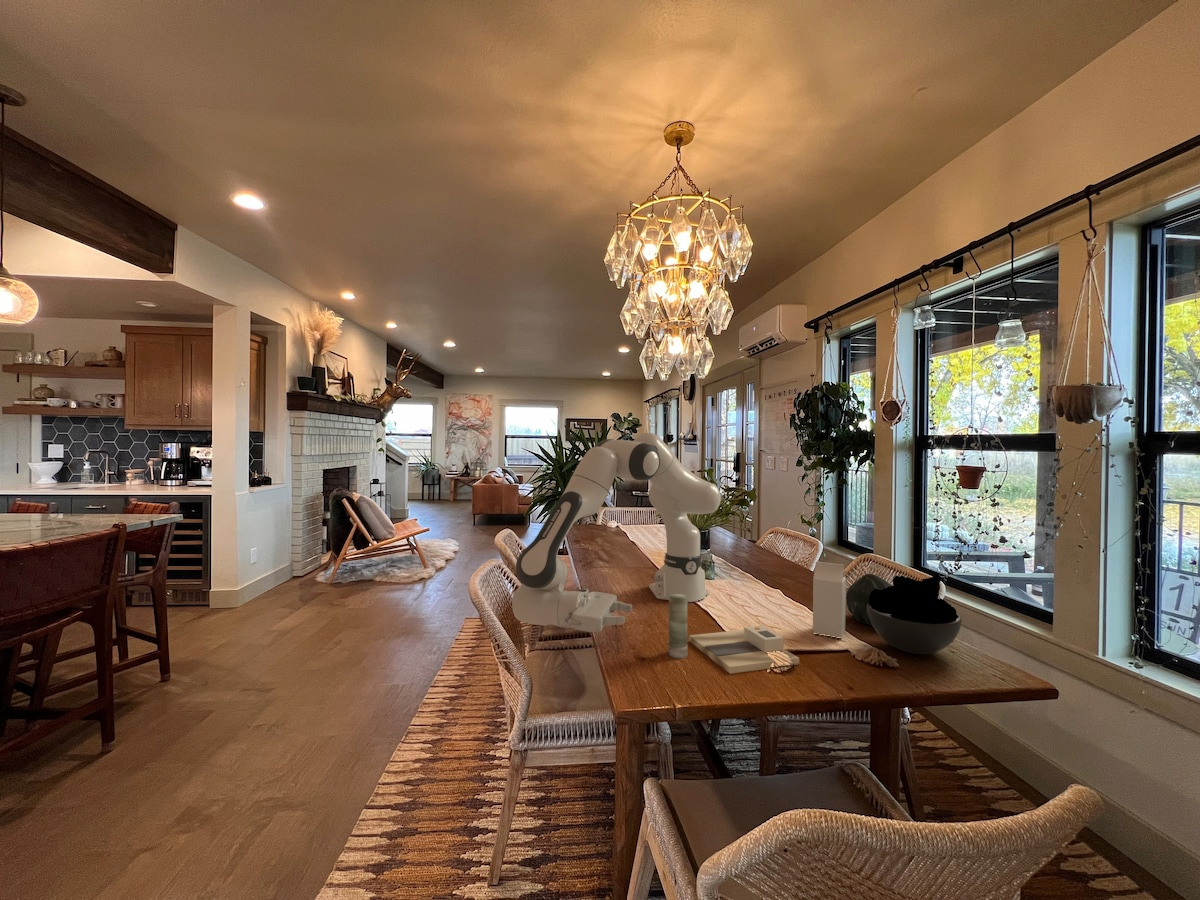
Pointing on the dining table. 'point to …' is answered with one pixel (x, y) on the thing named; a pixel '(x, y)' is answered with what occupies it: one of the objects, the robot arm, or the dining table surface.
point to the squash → (863, 595)
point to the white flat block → (734, 651)
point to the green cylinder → (678, 626)
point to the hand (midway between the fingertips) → (628, 614)
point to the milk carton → (829, 599)
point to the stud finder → (763, 638)
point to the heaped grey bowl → (913, 615)
